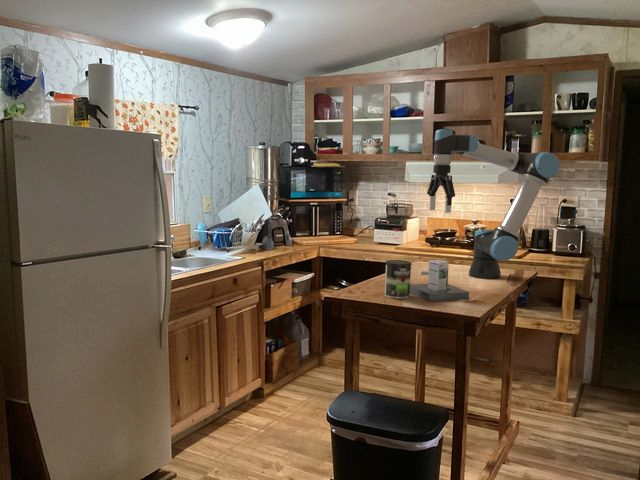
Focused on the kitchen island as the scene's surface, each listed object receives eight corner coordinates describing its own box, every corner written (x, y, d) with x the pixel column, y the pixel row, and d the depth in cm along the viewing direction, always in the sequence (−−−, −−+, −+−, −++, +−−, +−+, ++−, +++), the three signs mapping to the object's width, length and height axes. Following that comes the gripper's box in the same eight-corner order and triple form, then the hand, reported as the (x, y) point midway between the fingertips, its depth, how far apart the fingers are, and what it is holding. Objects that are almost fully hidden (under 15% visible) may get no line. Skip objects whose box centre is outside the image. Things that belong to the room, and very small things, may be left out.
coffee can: (414, 298, 220) (415, 263, 219) (390, 299, 217) (391, 264, 216) (403, 292, 230) (404, 259, 228) (380, 293, 227) (381, 260, 225)
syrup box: (437, 297, 223) (439, 262, 221) (427, 294, 227) (428, 260, 226) (447, 296, 226) (449, 261, 224) (437, 293, 231) (438, 259, 229)
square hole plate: (444, 289, 238) (445, 282, 237) (468, 299, 221) (469, 292, 220) (407, 291, 232) (408, 284, 232) (429, 301, 215) (429, 294, 215)
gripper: (421, 164, 258) (419, 209, 261) (449, 164, 235) (447, 213, 237) (435, 164, 260) (432, 209, 263) (465, 164, 237) (462, 213, 240)
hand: (439, 211), depth 250 cm, fingers open, 13 cm apart
